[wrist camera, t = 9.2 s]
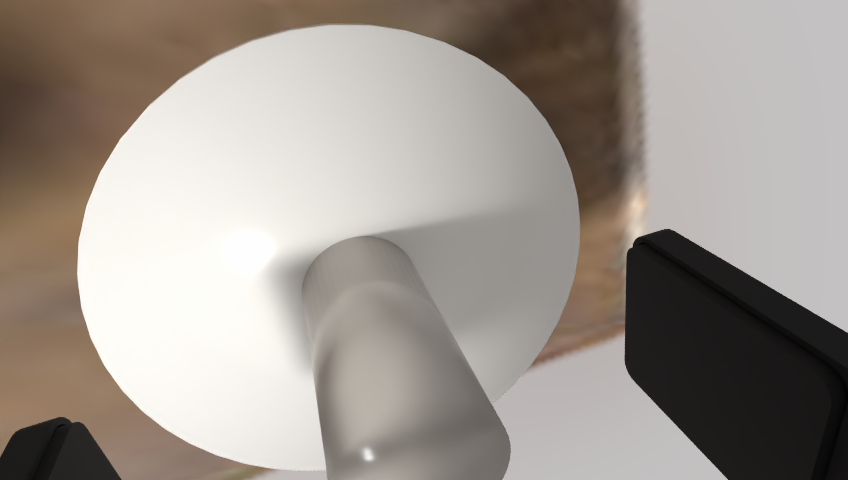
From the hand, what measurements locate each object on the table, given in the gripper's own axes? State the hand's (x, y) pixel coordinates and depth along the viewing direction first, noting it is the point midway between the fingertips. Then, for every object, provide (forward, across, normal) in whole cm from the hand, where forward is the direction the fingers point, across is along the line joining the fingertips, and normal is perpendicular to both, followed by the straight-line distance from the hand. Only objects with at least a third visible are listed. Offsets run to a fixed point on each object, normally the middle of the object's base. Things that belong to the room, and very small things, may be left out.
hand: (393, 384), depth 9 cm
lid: (+4, 0, 0) cm, 4 cm away
